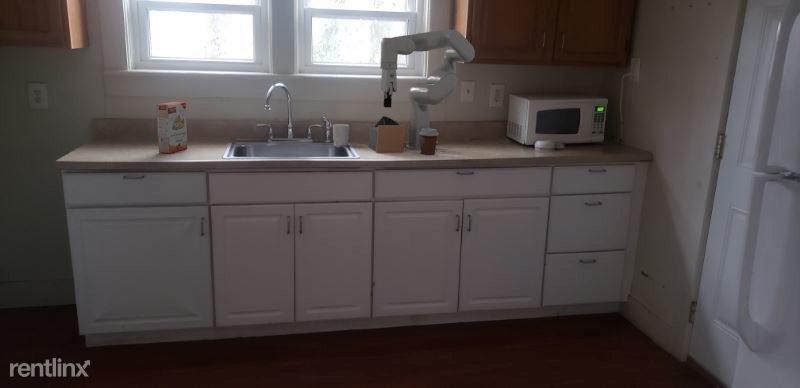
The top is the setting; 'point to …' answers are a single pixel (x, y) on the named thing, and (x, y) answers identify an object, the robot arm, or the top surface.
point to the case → (373, 137)
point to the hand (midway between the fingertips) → (387, 107)
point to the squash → (386, 122)
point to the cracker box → (172, 127)
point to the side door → (390, 139)
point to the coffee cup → (428, 141)
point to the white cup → (340, 134)
